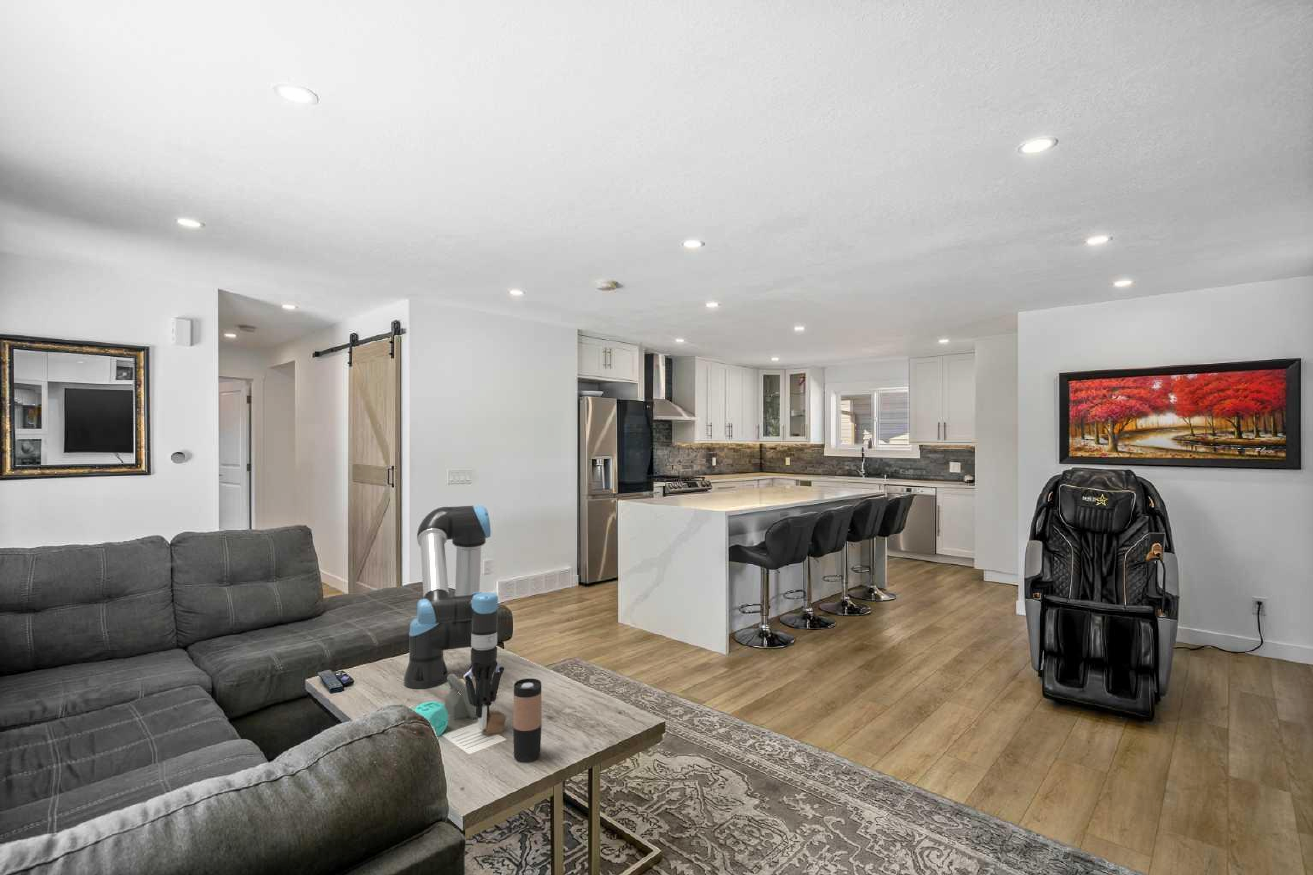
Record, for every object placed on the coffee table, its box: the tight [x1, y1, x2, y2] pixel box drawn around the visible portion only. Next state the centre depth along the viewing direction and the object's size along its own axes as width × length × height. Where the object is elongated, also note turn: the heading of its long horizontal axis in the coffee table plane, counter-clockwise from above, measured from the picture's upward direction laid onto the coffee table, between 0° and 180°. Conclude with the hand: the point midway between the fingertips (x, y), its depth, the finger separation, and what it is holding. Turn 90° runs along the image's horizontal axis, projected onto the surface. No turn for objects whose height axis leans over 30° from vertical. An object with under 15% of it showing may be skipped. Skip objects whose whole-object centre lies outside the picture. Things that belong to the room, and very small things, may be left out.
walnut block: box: [480, 710, 507, 735], centre depth 184 cm, size 5×5×5 cm
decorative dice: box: [412, 701, 449, 737], centre depth 183 cm, size 8×8×8 cm
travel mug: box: [512, 678, 542, 763], centre depth 170 cm, size 8×8×20 cm
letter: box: [441, 721, 507, 755], centre depth 180 cm, size 16×12×1 cm
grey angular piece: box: [444, 673, 478, 721], centre depth 198 cm, size 16×9×11 cm, turn 25°
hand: (482, 727), depth 182 cm, fingers closed
